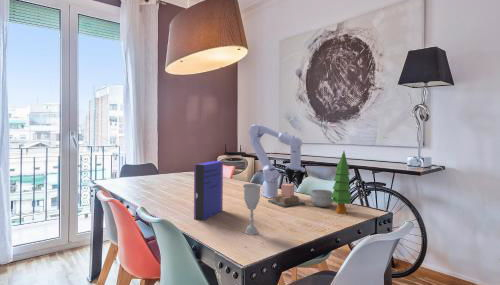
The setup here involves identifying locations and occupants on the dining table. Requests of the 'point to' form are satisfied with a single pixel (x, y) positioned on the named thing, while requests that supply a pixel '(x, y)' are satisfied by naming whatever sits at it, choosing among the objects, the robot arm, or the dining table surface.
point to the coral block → (287, 190)
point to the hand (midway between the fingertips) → (295, 182)
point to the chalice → (251, 203)
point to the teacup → (321, 197)
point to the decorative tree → (341, 186)
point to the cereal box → (208, 189)
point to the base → (286, 201)
